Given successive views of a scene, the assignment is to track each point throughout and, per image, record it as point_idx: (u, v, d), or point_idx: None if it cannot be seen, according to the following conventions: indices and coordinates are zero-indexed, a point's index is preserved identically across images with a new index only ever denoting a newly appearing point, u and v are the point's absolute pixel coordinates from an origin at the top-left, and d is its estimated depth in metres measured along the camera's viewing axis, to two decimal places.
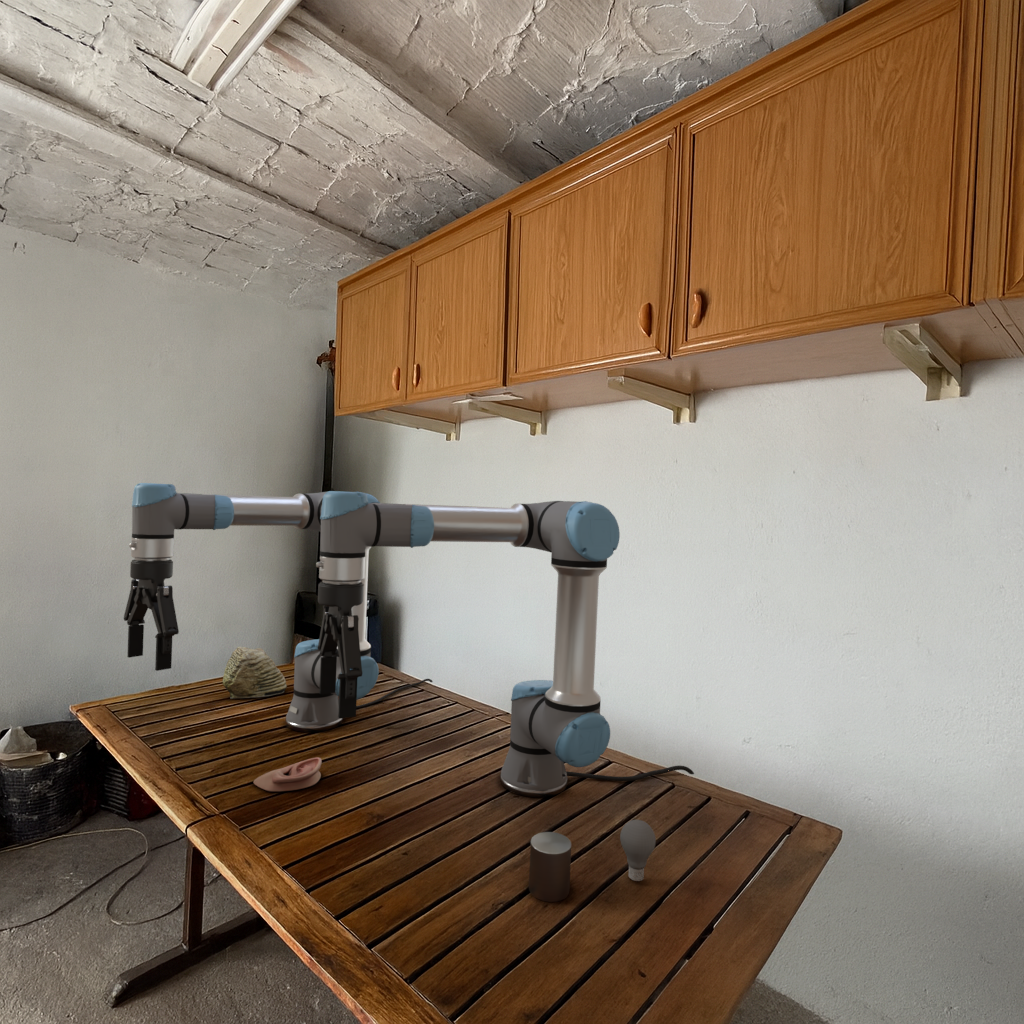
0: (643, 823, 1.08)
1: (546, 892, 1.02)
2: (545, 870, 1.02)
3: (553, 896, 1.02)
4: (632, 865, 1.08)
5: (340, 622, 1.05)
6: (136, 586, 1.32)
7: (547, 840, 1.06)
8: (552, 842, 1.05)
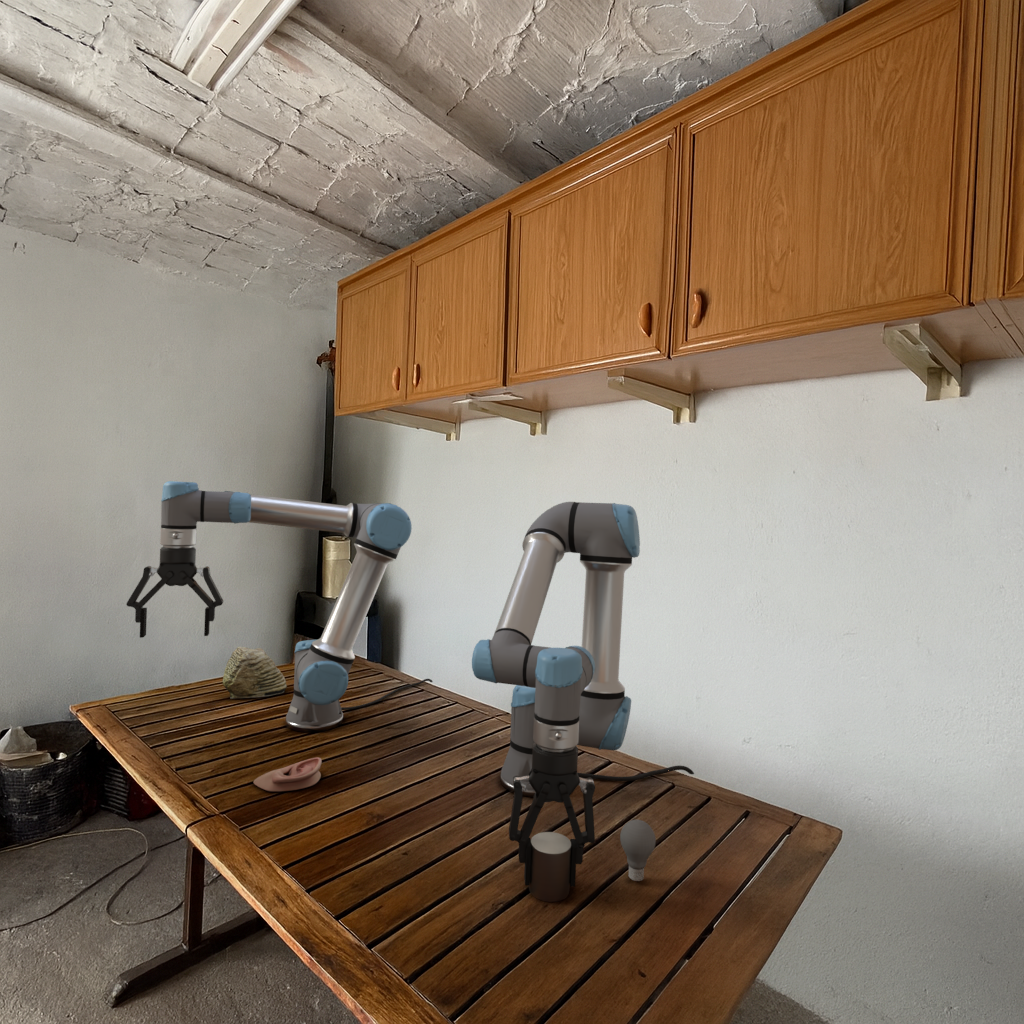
0: (643, 823, 1.08)
1: (546, 892, 1.02)
2: (545, 870, 1.02)
3: (553, 896, 1.02)
4: (632, 865, 1.08)
5: (576, 786, 1.04)
6: (150, 572, 1.48)
7: (547, 840, 1.06)
8: (552, 842, 1.05)
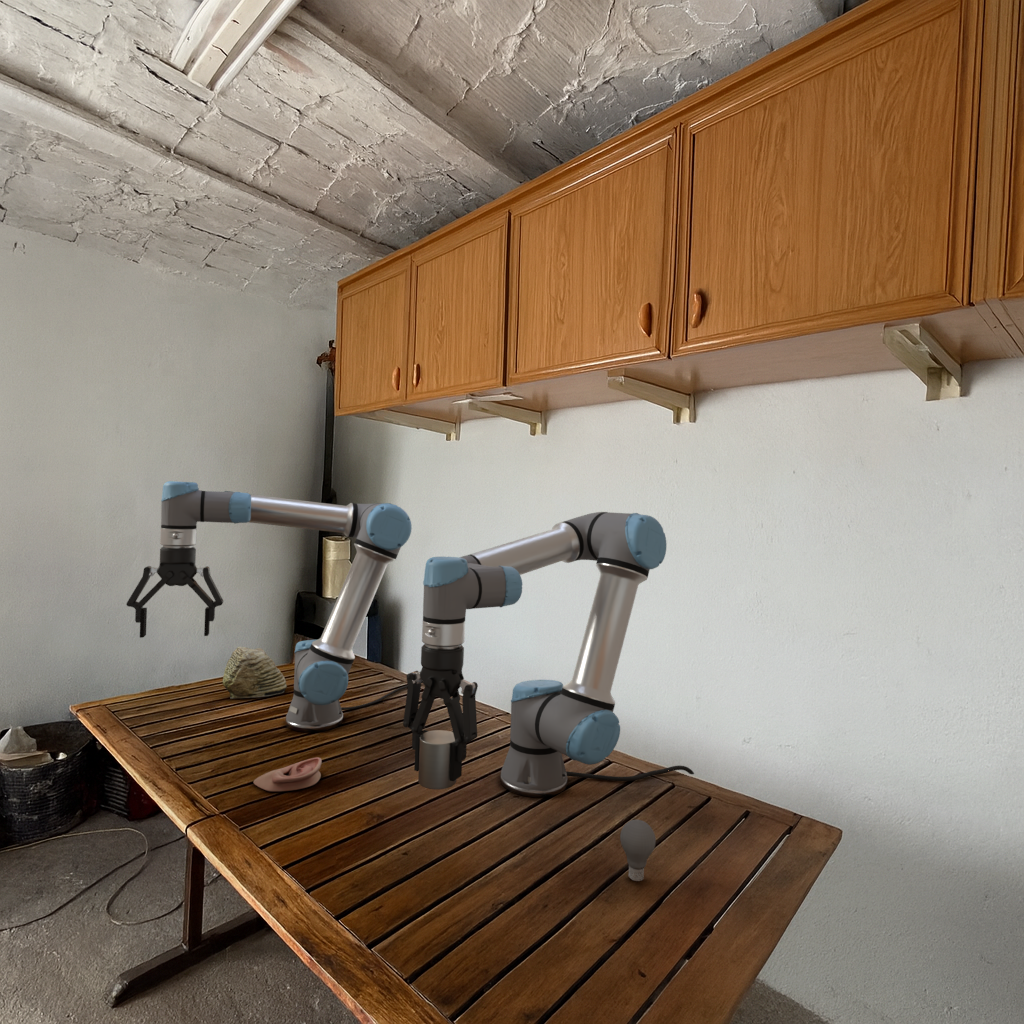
0: (643, 823, 1.08)
1: (423, 778, 1.10)
2: (423, 757, 1.10)
3: (428, 783, 1.09)
4: (632, 865, 1.08)
5: (456, 686, 1.10)
6: (150, 572, 1.48)
7: (438, 735, 1.13)
8: (440, 737, 1.12)
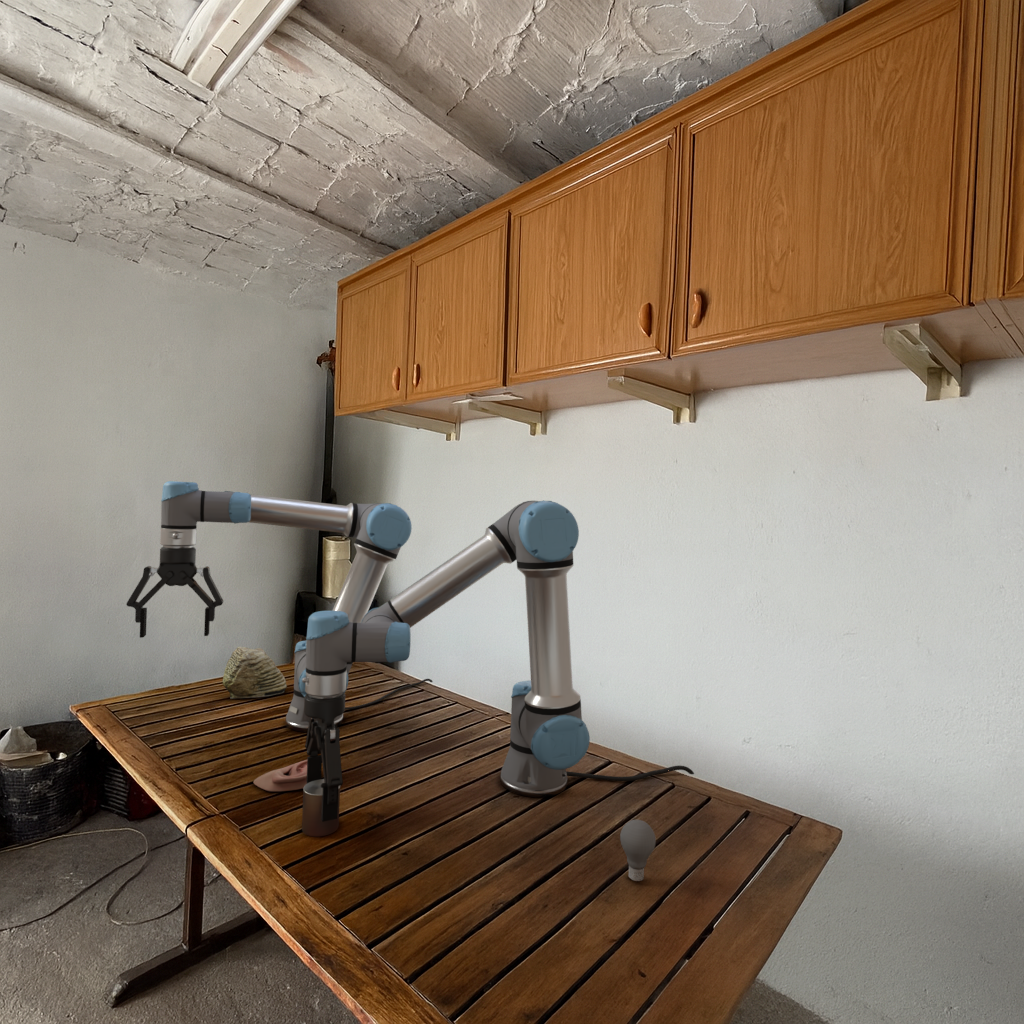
0: (643, 823, 1.08)
1: (302, 821, 1.21)
2: None
3: (303, 827, 1.20)
4: (632, 865, 1.08)
5: (323, 733, 1.17)
6: (150, 572, 1.48)
7: None
8: None
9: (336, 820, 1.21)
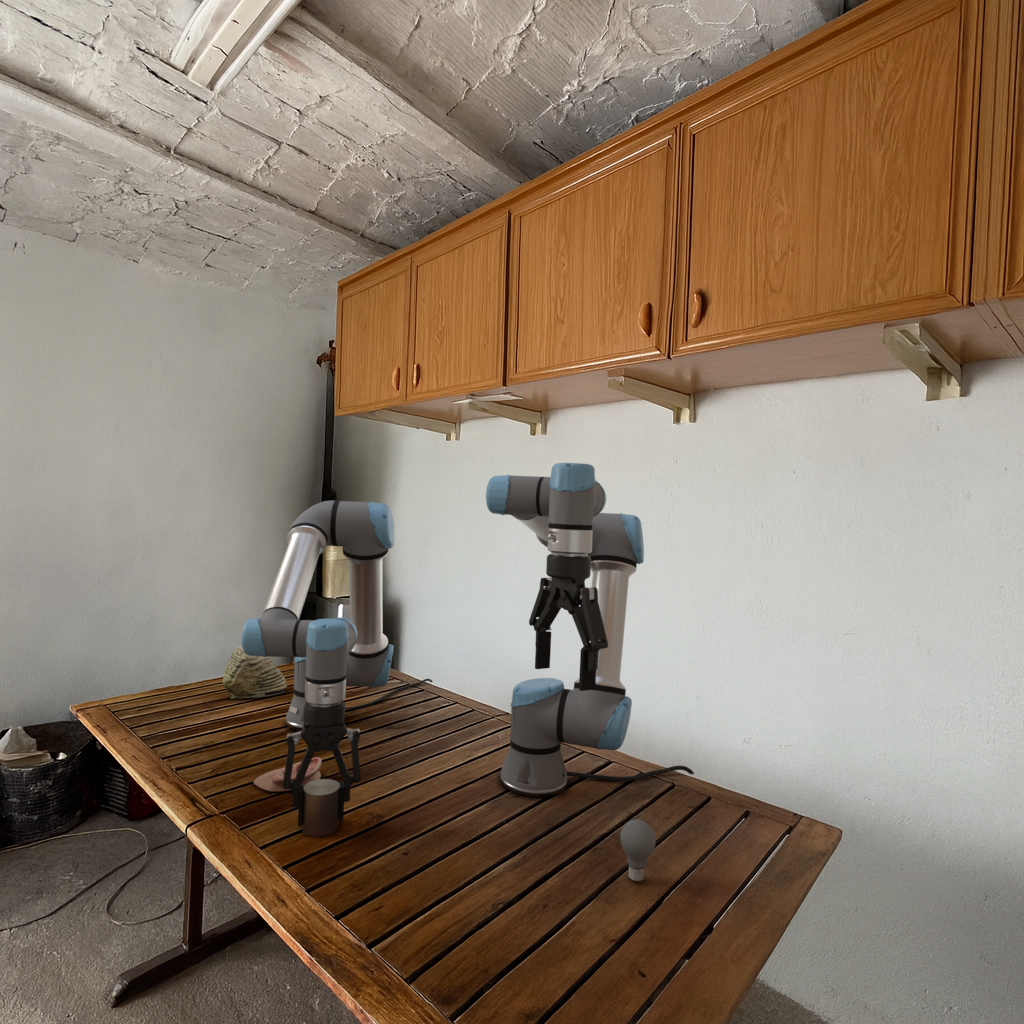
0: (643, 823, 1.08)
1: (302, 821, 1.21)
2: None
3: (303, 827, 1.20)
4: (632, 865, 1.08)
5: (576, 594, 1.04)
6: (295, 741, 1.19)
7: (324, 785, 1.22)
8: (322, 787, 1.21)
9: (336, 820, 1.21)
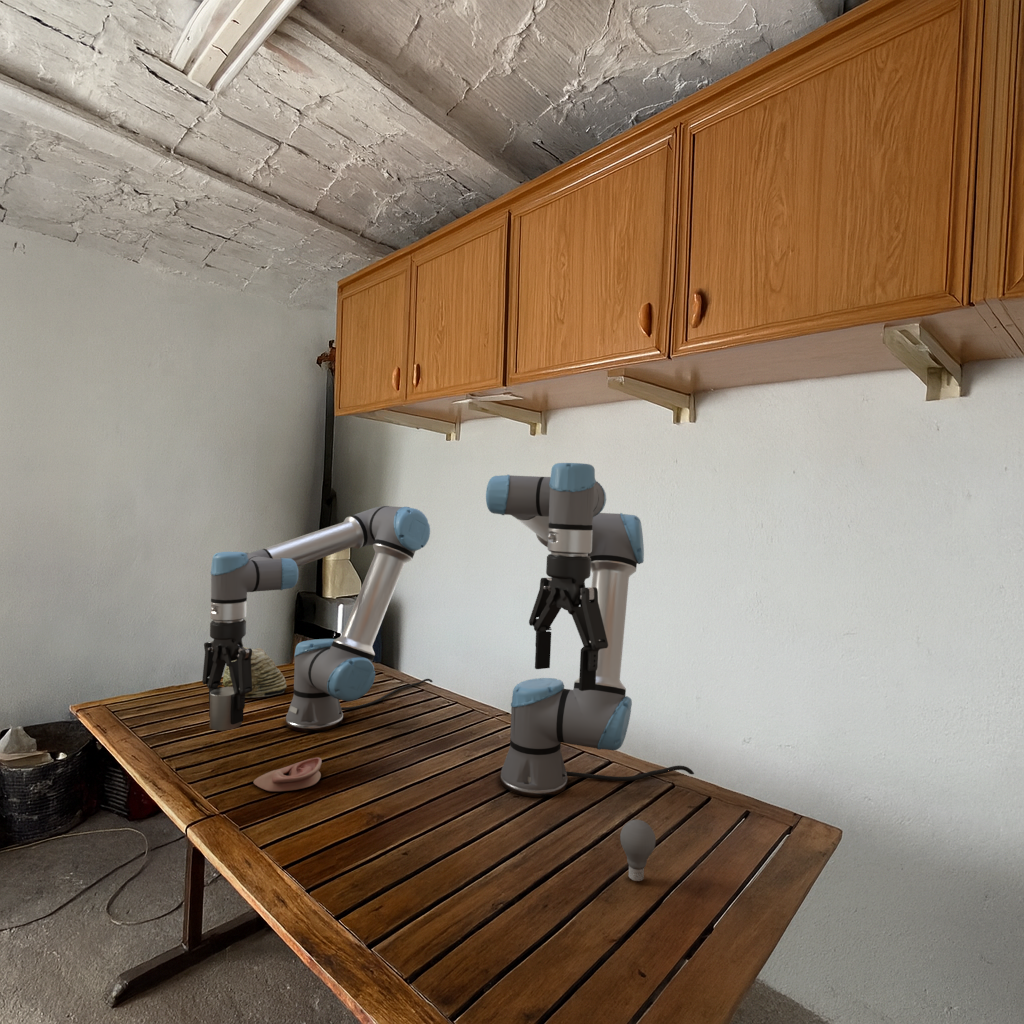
0: (643, 823, 1.08)
1: None
2: None
3: None
4: (632, 865, 1.08)
5: (576, 594, 1.04)
6: (210, 647, 1.47)
7: (230, 690, 1.45)
8: (225, 691, 1.45)
9: (227, 721, 1.42)
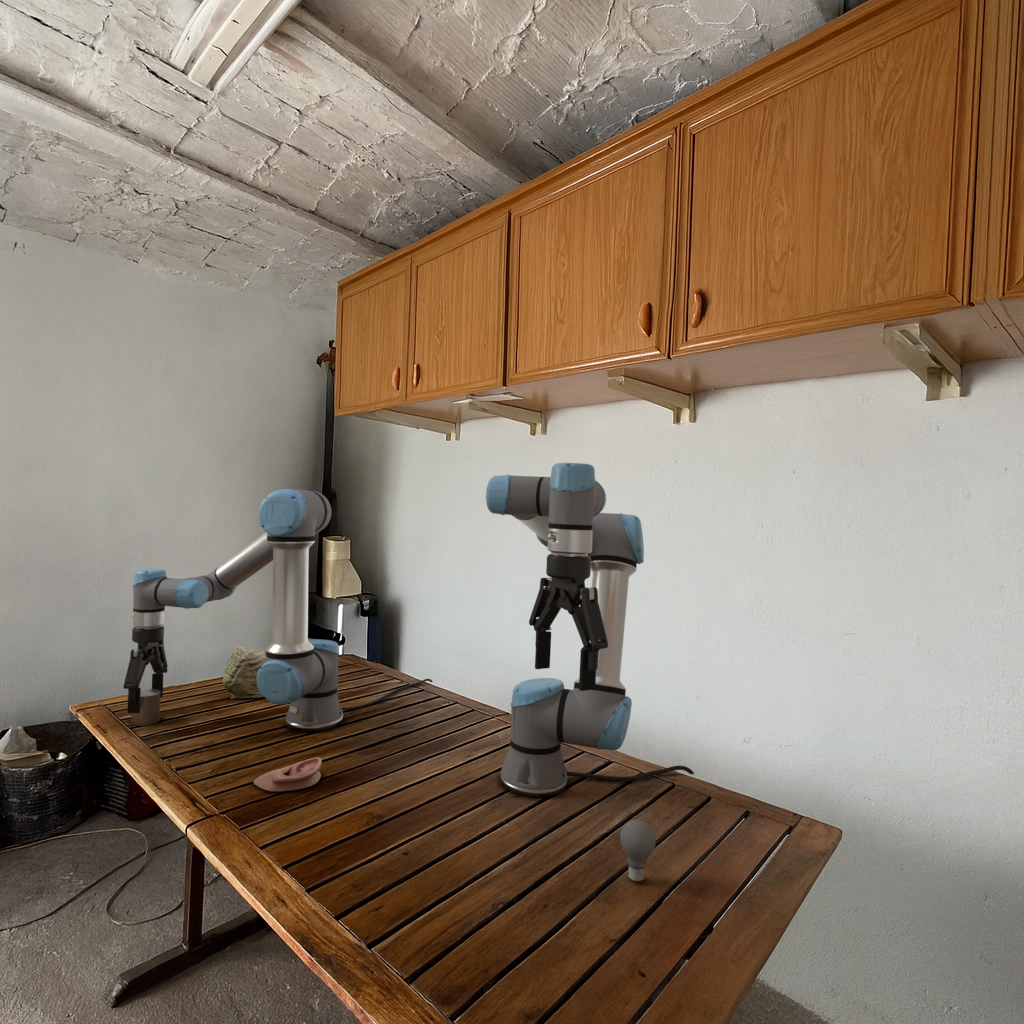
0: (643, 823, 1.08)
1: None
2: None
3: None
4: (632, 865, 1.08)
5: (576, 594, 1.04)
6: None
7: (147, 693, 1.71)
8: (145, 692, 1.72)
9: (133, 717, 1.69)
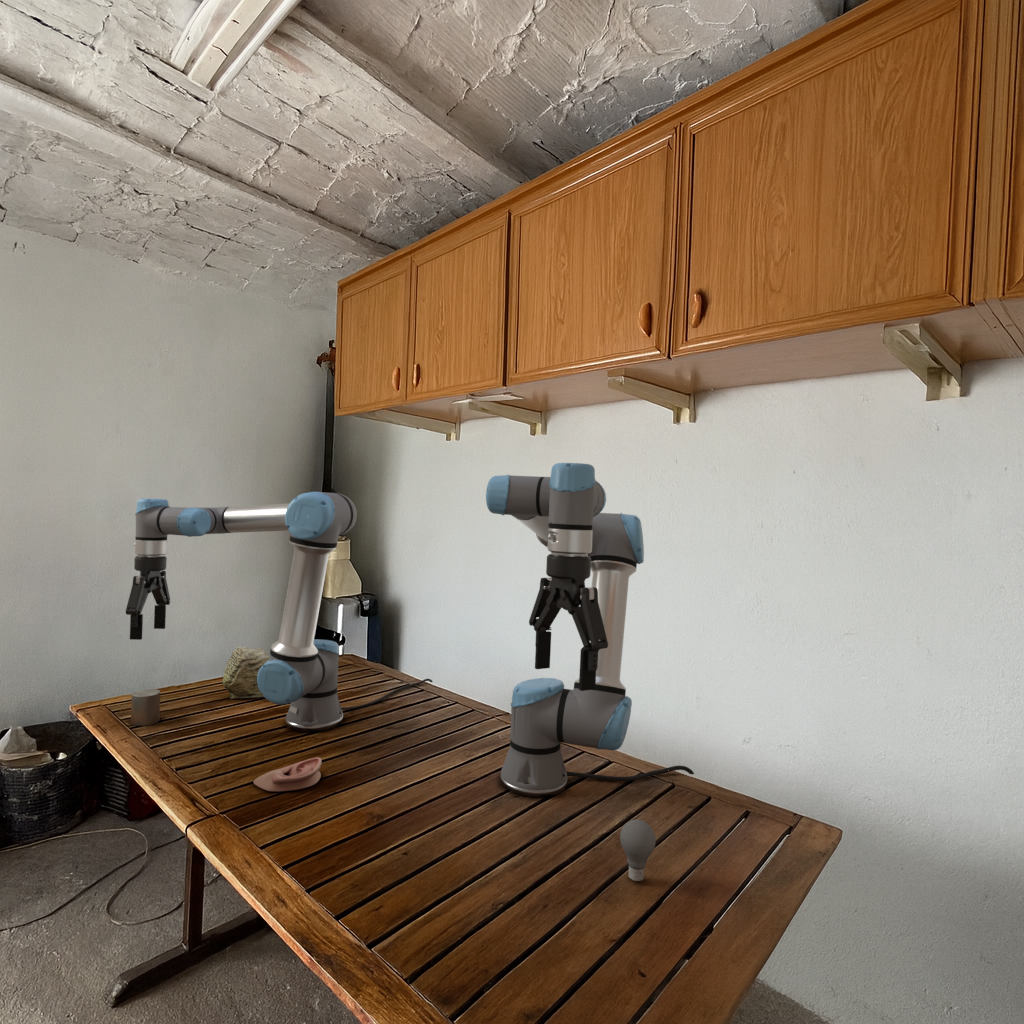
0: (643, 823, 1.08)
1: None
2: None
3: None
4: (632, 865, 1.08)
5: (576, 594, 1.04)
6: None
7: (147, 693, 1.71)
8: (145, 692, 1.72)
9: (133, 717, 1.69)
